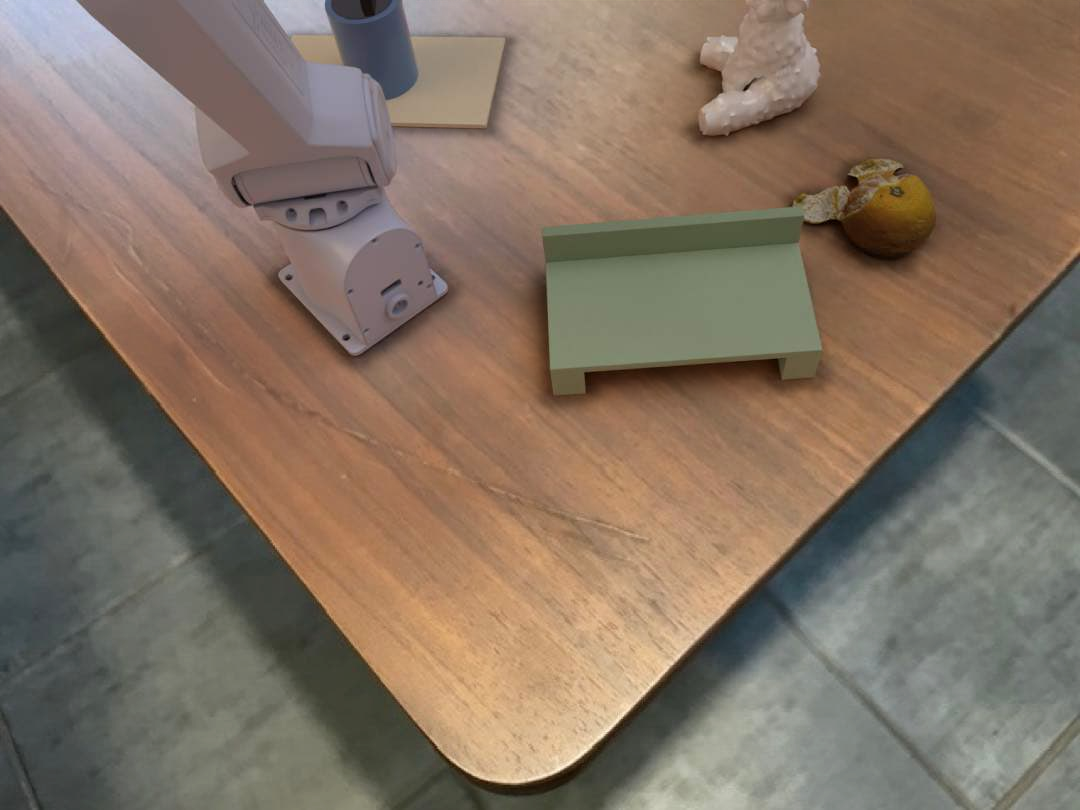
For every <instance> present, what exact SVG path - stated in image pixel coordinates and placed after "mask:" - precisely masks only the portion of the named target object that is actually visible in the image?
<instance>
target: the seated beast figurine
mask: <svg viewBox="0 0 1080 810" xmlns="http://www.w3.org/2000/svg"><path fill="white" fill-rule="evenodd" d="M810 2H811V0H745V3H746V6H748V7H749V11H748V12H747V13H745V14H744V16H743V20H742V22H740V23H739V27H738V31H739V34H738V36H734V35H733V36H726V35H724V34H721V35H720V36H707V38H706V41H705V42H704V43H703V45H702V48H701V51H700V56H699V64H701V65H704V66H706V67H707V69H712V70H715V71H718V72H720V74H721V77H722V81H721V85H722V92H721V93H719V94H718V95H717V96H716V97H715V98H713V99H711V101H710V102H708V103H706V104H704V105H703V106H702V107H701V108H699V110H698V120H697V121H698V125H699V126H698V127H699V131H700V132H702V135H703V136H710V137H715V136H723V135H724V136H725V137H727V136H729V134H730V133H731V132H735V131H739V130H741V129H744V128H747V127H751V126H753V125H754V126H757V125H758V124H759V123H761V122H765V121H768V120H773V118H775V117H777V116H781V115H784V114H788V113H791V112H793V110H794V109H799V108H800V107H801V106H802V105H803V103H804V102H805V101H807V99H809V98H810V97H811V95H812V94H813V93H814V91H815V90H816V89H817V88H818V81H819V79H820V78H821V76H822V74H821V73H820V68H821V64H820V62H819V58H818V57H817V48H815V47H812V45H811V43H810V41H808V38H807V36H806V35H805V33H804V32H805V27H804V26H803V24H804V21H805V15H804V14H803V13H807V12H808V9H809V5H810ZM745 88H747V89H746V90H745Z"/></svg>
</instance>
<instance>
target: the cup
mask: <svg viewBox="0 0 1080 810" xmlns="http://www.w3.org/2000/svg"><path fill="white" fill-rule="evenodd" d="M324 10H325V13H326V17H327V19H328V23H329V26H330V29H331V33H332V35H333V36H334V39H335V42H336V45H337V49H338V52H339V55H340V58H341V61H342V64H343V66H349V67H356V68H359V69H360V70H361V71H362V73H363V74H365V73H366V74H369V75H370V76H371V77H372V78H373V79H374V80H375V81H377V82H378V83H379V84H380V86H381V88H382V91H383V94H384V97H385V100H389V99H393V98H396V97H398V96H400V95H402V94H404V93H405V92H407V91H408V90H409V89H411V88H412V86H413V85H414V84H415V82H416V81H417V78H418V73H419V71H418V66H417V62H416V57H415V53H414V49H413V45H412V40H411V36H412V35H411V33H410V28H409V24H408V20H407V19H408V18H407V16H406V11H405V7H404V3H403V0H376V12H375V15H374V16H368V17H365V16H364V13H363V11H362V8H361V5H360V0H324Z"/></svg>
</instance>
